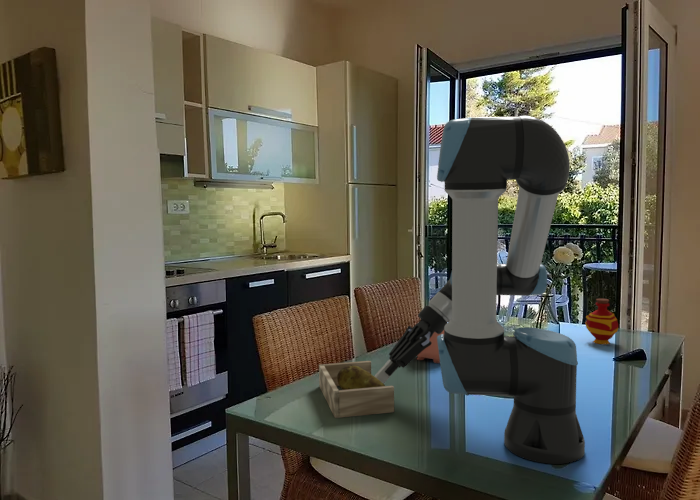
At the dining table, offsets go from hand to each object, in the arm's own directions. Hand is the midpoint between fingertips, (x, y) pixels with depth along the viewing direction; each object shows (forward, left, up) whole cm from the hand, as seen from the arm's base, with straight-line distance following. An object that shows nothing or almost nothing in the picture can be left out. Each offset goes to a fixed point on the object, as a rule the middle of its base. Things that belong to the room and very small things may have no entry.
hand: (376, 382), depth 138 cm
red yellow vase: (+31, -89, -4) cm, 94 cm away
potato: (-2, +4, -4) cm, 6 cm away
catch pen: (0, +5, -4) cm, 6 cm away
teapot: (+29, -27, -4) cm, 39 cm away
